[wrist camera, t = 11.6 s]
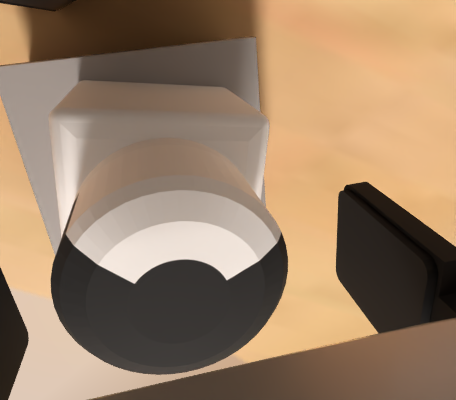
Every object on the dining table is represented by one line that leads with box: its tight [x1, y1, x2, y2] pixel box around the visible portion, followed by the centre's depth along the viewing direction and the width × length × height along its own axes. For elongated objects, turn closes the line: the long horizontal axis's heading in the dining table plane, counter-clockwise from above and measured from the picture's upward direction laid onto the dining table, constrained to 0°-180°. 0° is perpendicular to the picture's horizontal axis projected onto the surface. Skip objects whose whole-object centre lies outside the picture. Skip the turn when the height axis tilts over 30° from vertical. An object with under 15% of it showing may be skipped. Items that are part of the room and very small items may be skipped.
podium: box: [0, 37, 266, 256], centre depth 22 cm, size 12×10×4 cm
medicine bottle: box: [49, 80, 288, 375], centre depth 15 cm, size 7×7×12 cm
